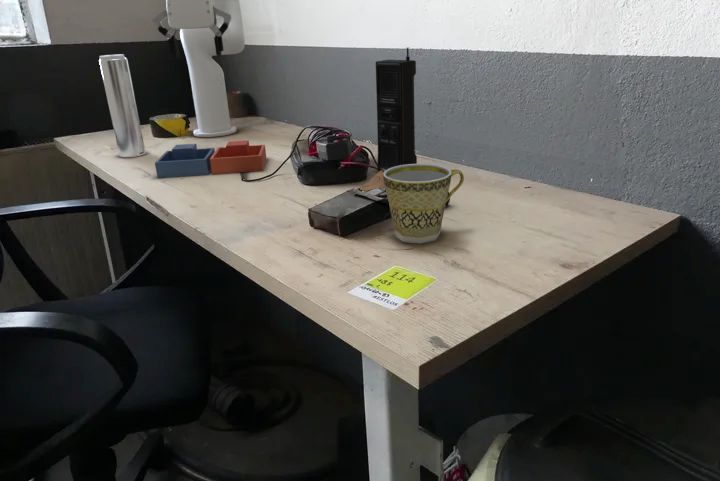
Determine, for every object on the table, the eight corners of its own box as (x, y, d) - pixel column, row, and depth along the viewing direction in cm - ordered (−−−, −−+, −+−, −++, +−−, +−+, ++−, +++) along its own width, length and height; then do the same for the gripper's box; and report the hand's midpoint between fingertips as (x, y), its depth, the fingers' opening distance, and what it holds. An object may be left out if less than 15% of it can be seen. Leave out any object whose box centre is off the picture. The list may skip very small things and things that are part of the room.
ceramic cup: (404, 253, 81) (402, 186, 77) (374, 231, 90) (371, 169, 86) (480, 236, 86) (482, 171, 82) (445, 216, 94) (446, 157, 90)
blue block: (179, 165, 133) (176, 144, 131) (199, 164, 134) (196, 143, 132) (175, 171, 129) (171, 149, 127) (195, 169, 129) (192, 147, 127)
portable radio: (372, 171, 122) (366, 49, 113) (390, 165, 126) (386, 46, 117) (400, 176, 117) (397, 49, 108) (418, 170, 121) (416, 46, 112)
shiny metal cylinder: (124, 158, 145) (103, 56, 135) (115, 155, 150) (94, 55, 140) (149, 154, 149) (130, 53, 139) (140, 150, 153) (120, 53, 144)
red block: (231, 162, 134) (228, 141, 132) (251, 161, 134) (248, 140, 132) (228, 167, 130) (225, 145, 128) (249, 166, 130) (246, 144, 128)
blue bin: (169, 165, 136) (166, 150, 135) (216, 162, 137) (214, 147, 136) (157, 177, 126) (154, 162, 125) (208, 174, 127) (206, 159, 125)
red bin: (219, 161, 137) (217, 147, 136) (266, 158, 138) (264, 144, 136) (212, 174, 127) (209, 158, 125) (262, 170, 127) (260, 155, 126)
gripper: (228, -28, 127) (238, 52, 134) (149, -24, 127) (163, 57, 133) (223, -30, 120) (233, 55, 127) (140, -26, 120) (155, 59, 126)
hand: (197, 56), depth 130 cm, fingers open, 9 cm apart
